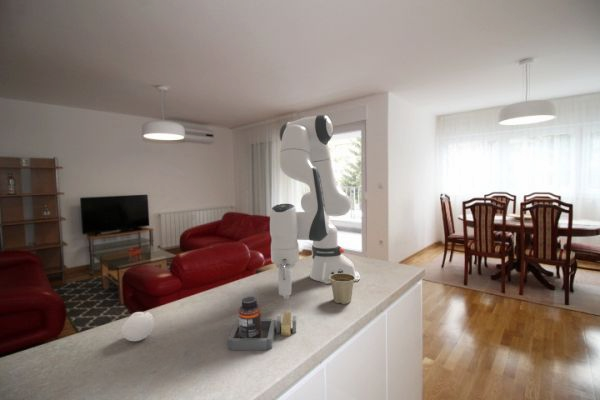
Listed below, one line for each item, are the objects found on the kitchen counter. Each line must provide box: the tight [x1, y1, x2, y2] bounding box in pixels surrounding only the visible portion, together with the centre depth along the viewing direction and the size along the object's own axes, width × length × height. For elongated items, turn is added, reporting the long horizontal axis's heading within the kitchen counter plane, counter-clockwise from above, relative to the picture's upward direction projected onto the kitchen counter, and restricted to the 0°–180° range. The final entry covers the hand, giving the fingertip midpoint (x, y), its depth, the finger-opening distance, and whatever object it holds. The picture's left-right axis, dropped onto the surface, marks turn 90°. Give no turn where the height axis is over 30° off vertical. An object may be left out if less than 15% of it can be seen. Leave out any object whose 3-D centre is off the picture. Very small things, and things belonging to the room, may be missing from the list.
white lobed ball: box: [120, 311, 155, 342], centre depth 78 cm, size 8×8×8 cm
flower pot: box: [329, 273, 355, 305], centre depth 101 cm, size 9×9×9 cm
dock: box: [227, 315, 297, 351], centre depth 77 cm, size 18×11×4 cm, turn 89°
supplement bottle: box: [238, 296, 262, 338], centre depth 77 cm, size 6×6×11 cm
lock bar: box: [280, 311, 293, 337], centre depth 82 cm, size 8×2×3 cm, turn 179°
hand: (286, 297), depth 90 cm, fingers closed
